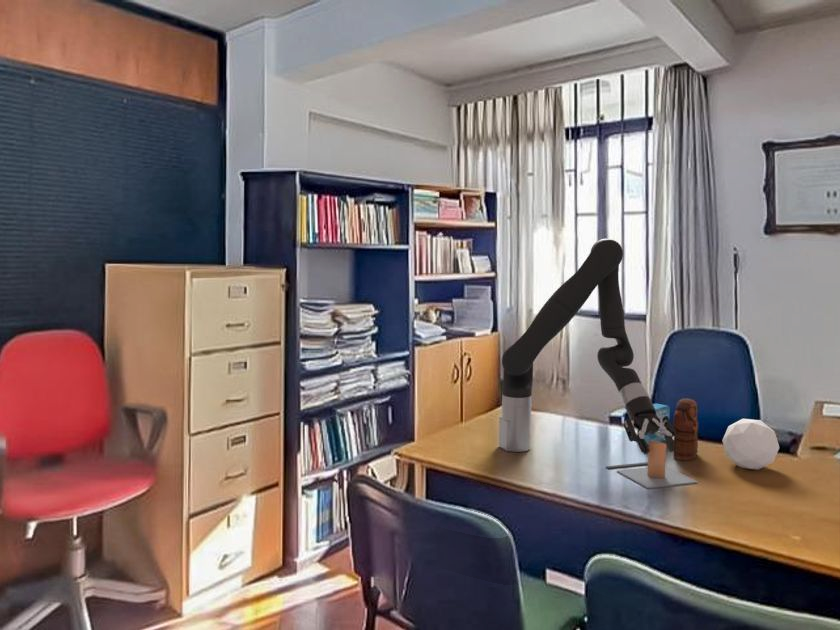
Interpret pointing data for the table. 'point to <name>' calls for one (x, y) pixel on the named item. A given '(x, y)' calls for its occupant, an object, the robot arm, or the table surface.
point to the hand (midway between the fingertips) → (660, 451)
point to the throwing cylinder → (656, 459)
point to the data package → (660, 412)
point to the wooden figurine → (686, 430)
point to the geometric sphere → (750, 444)
